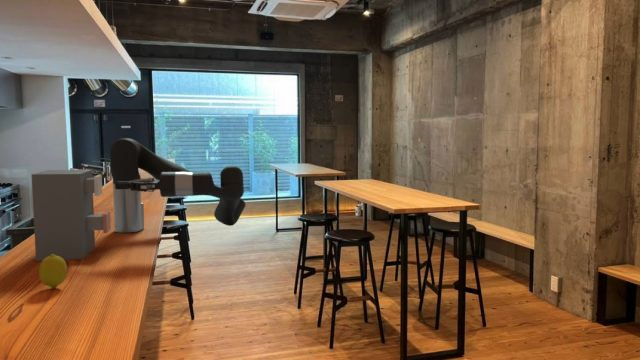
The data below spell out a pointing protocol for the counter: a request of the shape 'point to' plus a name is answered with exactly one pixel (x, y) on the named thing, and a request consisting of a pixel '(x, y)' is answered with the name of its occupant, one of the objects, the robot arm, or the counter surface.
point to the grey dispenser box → (62, 214)
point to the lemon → (53, 271)
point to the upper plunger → (94, 185)
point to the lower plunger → (99, 222)
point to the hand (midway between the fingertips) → (115, 185)
